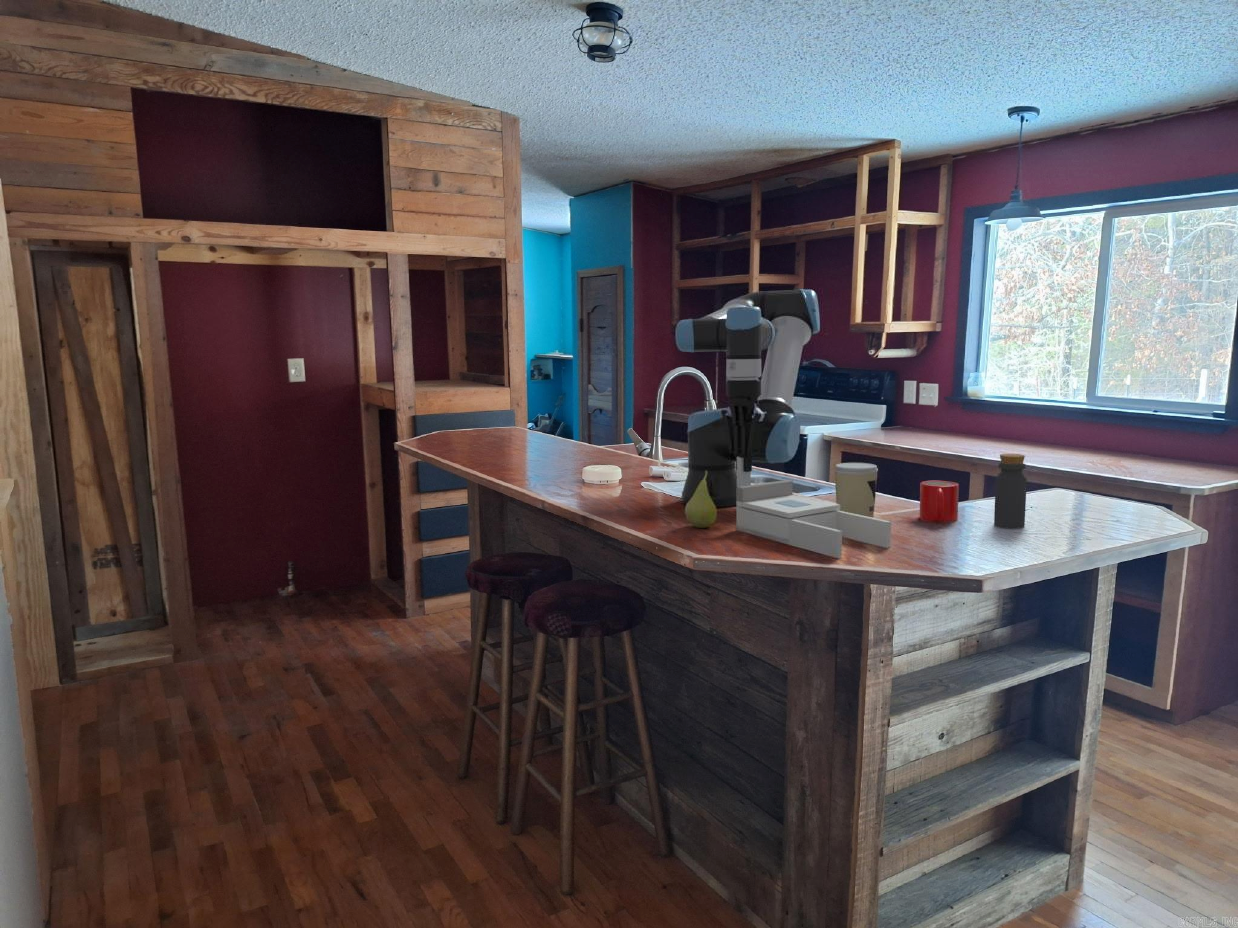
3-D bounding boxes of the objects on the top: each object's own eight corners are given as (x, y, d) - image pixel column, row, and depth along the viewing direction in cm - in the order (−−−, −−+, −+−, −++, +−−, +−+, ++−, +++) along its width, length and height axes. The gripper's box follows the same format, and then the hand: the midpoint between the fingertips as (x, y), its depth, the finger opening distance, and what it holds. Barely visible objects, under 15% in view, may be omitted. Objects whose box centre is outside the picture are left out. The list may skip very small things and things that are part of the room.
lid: (736, 505, 177) (736, 486, 176) (786, 497, 184) (786, 480, 183) (788, 518, 163) (788, 497, 163) (840, 509, 170) (840, 490, 170)
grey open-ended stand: (736, 530, 178) (736, 506, 177) (786, 521, 185) (786, 499, 184) (837, 558, 153) (838, 531, 152) (890, 547, 160) (890, 521, 159)
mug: (921, 525, 178) (922, 489, 177) (918, 514, 189) (919, 480, 188) (961, 527, 176) (962, 490, 175) (955, 515, 187) (957, 480, 186)
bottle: (1000, 521, 180) (1003, 452, 178) (1028, 525, 176) (1032, 454, 174) (989, 525, 176) (992, 455, 174) (1018, 529, 172) (1021, 457, 170)
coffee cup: (879, 523, 181) (880, 468, 179) (834, 522, 182) (835, 468, 181) (874, 514, 190) (876, 462, 188) (832, 514, 191) (833, 462, 190)
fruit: (681, 529, 179) (680, 474, 178) (691, 522, 186) (691, 469, 184) (711, 531, 177) (711, 475, 175) (721, 524, 184) (720, 470, 182)
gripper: (711, 378, 185) (712, 483, 189) (749, 380, 174) (749, 491, 178) (737, 377, 189) (738, 480, 192) (777, 378, 178) (776, 488, 181)
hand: (743, 485), depth 185 cm, fingers closed
